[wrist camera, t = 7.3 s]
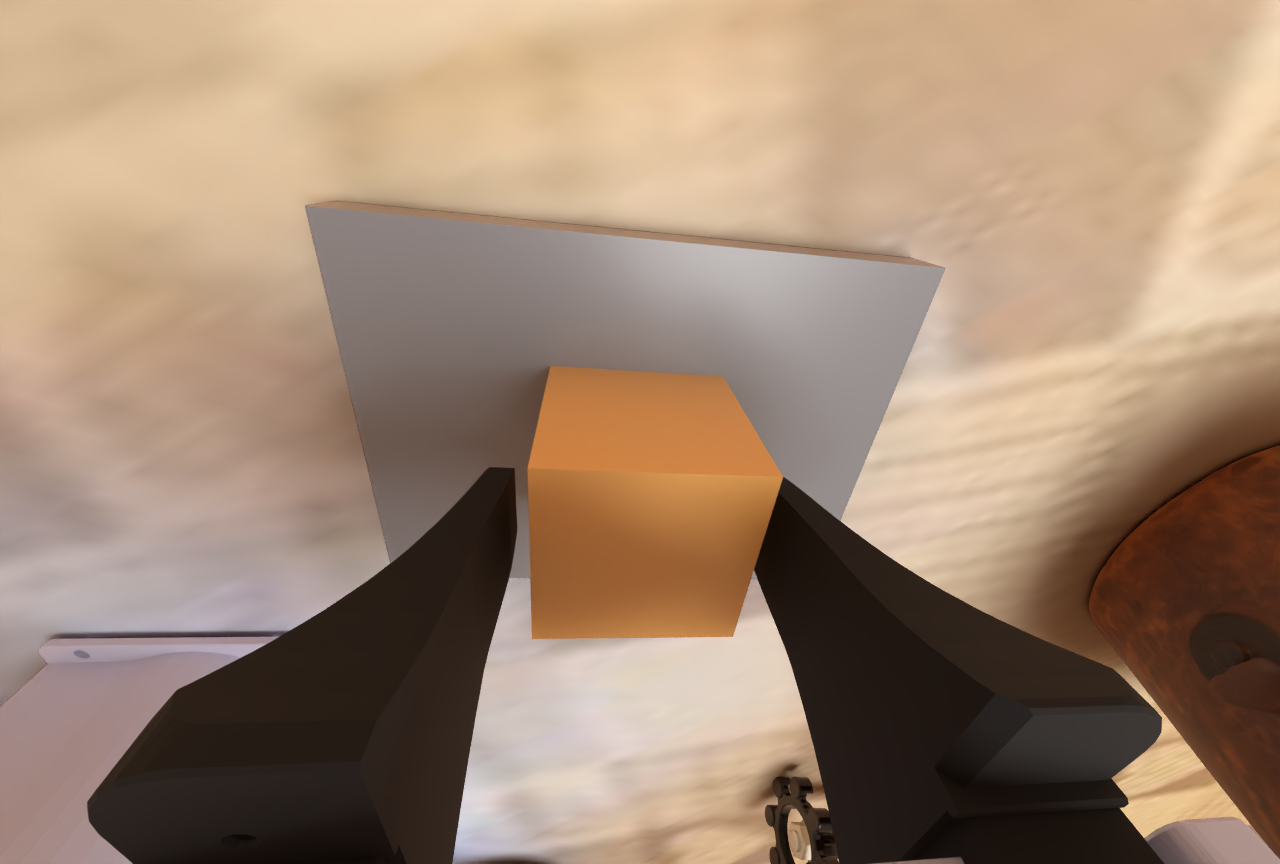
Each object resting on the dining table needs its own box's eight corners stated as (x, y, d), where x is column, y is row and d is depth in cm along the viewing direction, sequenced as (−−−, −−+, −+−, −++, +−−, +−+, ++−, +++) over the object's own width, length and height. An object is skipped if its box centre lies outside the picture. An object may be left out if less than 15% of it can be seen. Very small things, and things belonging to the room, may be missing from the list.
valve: (948, 761, 32) (795, 752, 29) (1026, 892, 26) (844, 895, 23) (897, 804, 35) (754, 800, 32) (956, 930, 29) (788, 936, 26)
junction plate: (408, 546, 18) (348, 670, 13) (336, 200, 12) (186, 222, 7) (801, 552, 20) (859, 661, 15) (912, 257, 14) (1058, 301, 9)
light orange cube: (549, 505, 15) (532, 638, 11) (550, 365, 13) (527, 467, 9) (695, 508, 16) (732, 636, 12) (723, 376, 13) (783, 477, 9)
